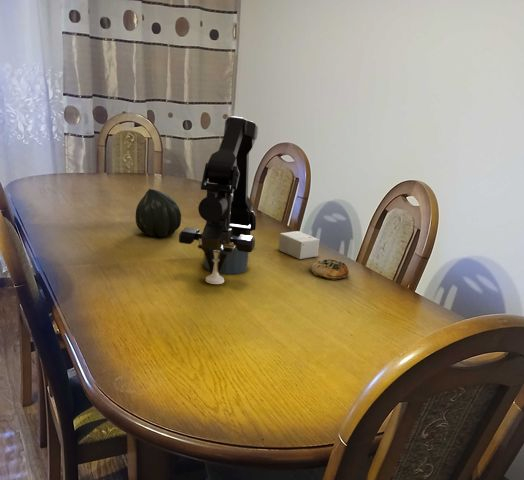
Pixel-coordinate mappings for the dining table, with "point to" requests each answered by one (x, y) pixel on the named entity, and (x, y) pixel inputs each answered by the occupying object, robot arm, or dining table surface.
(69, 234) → the dining table surface
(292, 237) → the small box
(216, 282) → the chess piece
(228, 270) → the pot
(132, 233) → the dining table surface
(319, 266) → the bread roll
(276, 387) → the dining table surface
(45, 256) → the dining table surface
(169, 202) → the squash
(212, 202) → the robot arm
